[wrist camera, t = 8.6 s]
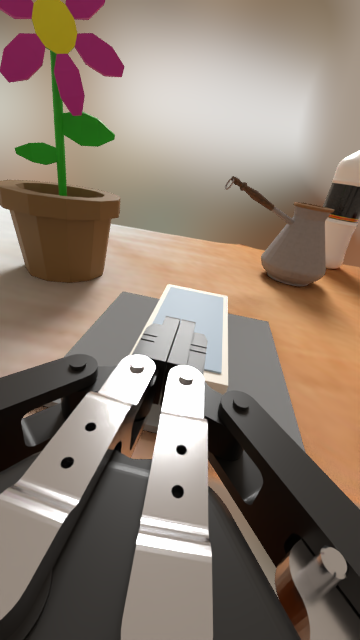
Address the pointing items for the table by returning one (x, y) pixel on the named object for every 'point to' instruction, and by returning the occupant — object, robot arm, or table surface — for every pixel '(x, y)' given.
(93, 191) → the flowerpot
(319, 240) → the coffee pot
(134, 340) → the rubber mat
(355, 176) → the vodka
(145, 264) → the table surface
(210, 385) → the slate tablet
